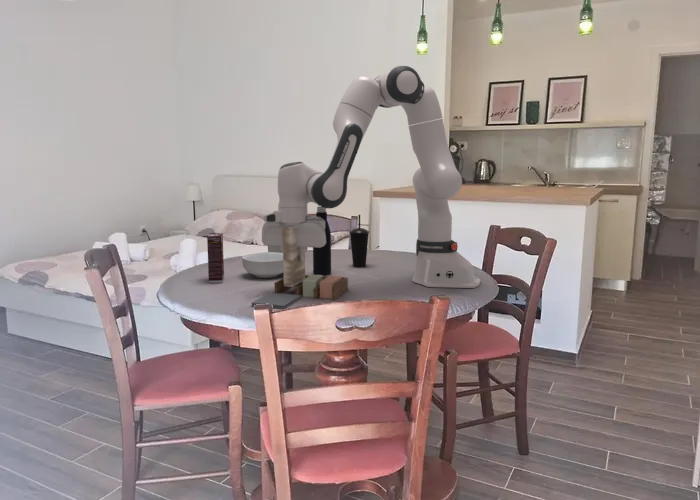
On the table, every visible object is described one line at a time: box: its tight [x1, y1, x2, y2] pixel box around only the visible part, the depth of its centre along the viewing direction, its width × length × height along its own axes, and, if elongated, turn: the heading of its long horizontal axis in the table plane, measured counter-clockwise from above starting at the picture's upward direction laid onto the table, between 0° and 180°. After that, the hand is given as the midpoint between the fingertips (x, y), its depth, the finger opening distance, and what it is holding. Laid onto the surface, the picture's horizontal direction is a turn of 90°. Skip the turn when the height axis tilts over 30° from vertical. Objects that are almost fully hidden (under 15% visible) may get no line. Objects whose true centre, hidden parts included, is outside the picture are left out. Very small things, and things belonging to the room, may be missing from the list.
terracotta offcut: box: [319, 275, 343, 300], centre depth 165 cm, size 4×9×5 cm, turn 163°
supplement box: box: [206, 232, 225, 284], centre depth 183 cm, size 9×5×16 cm, turn 9°
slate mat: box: [251, 292, 302, 310], centre depth 156 cm, size 10×12×1 cm
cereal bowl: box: [241, 251, 284, 279], centre depth 191 cm, size 17×17×7 cm
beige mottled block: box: [282, 227, 306, 288], centre depth 167 cm, size 3×10×18 cm, turn 163°
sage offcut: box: [302, 274, 323, 298], centre depth 166 cm, size 4×9×5 cm, turn 169°
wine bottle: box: [312, 204, 332, 276], centre depth 192 cm, size 6×6×30 cm
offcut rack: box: [273, 274, 349, 301], centre depth 167 cm, size 19×13×4 cm
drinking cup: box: [348, 214, 370, 268], centre depth 206 cm, size 8×8×20 cm
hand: (294, 260), depth 167 cm, fingers closed on beige mottled block, 3 cm apart
